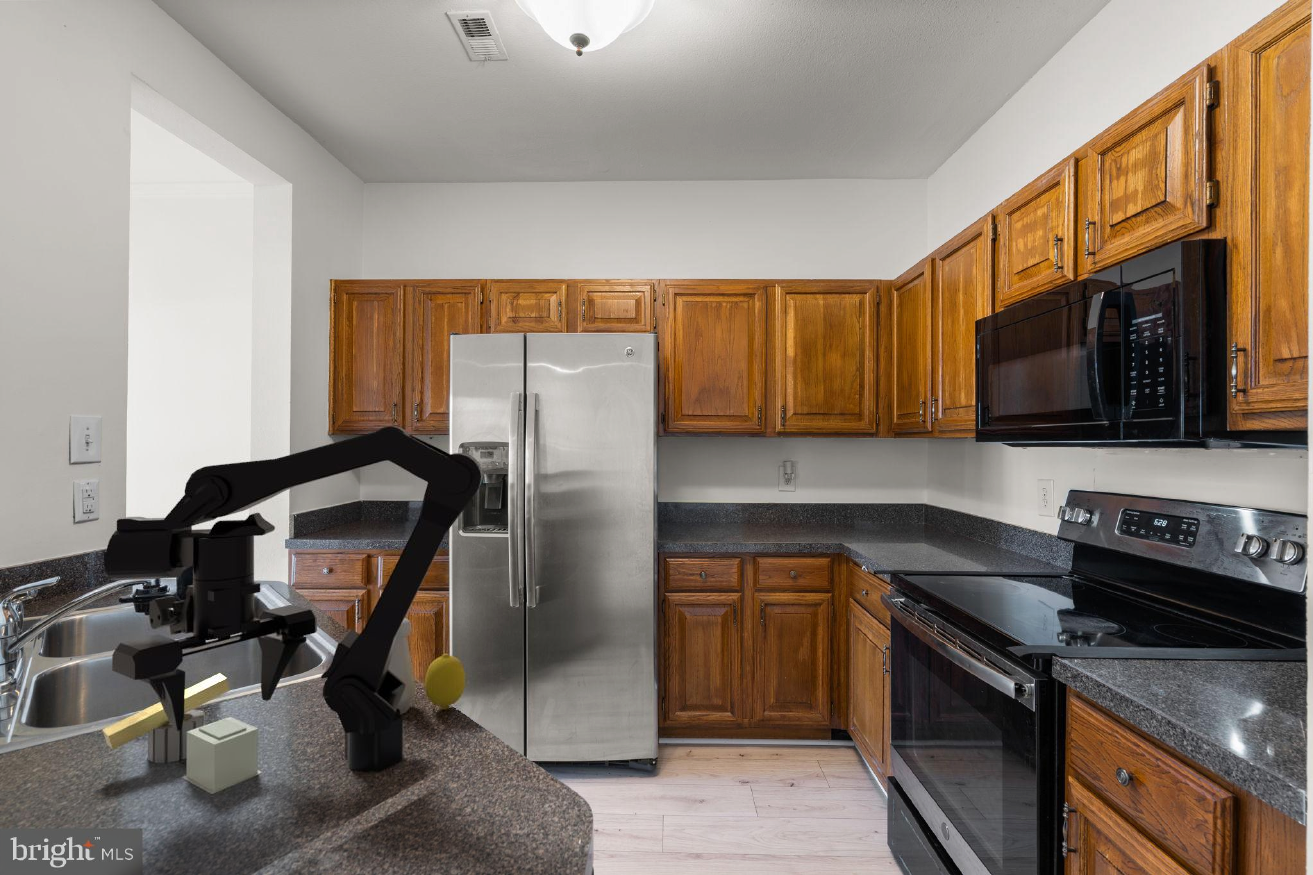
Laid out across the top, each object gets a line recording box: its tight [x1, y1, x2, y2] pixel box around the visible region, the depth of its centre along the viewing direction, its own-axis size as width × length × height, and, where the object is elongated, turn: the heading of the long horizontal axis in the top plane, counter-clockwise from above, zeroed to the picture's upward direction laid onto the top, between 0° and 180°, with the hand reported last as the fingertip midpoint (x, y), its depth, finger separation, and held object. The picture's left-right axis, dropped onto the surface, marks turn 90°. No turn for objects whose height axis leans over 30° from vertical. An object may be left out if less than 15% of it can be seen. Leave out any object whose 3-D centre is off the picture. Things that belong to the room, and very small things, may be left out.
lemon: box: [424, 653, 466, 711], centre depth 93 cm, size 6×6×8 cm
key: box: [102, 673, 230, 750], centre depth 78 cm, size 12×2×6 cm, turn 144°
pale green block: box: [185, 716, 259, 791], centre depth 73 cm, size 6×4×5 cm
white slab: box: [147, 709, 263, 795], centre depth 75 cm, size 17×10×5 cm, turn 60°
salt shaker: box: [388, 617, 417, 715], centre depth 93 cm, size 6×6×13 cm
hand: (224, 714), depth 73 cm, fingers open, 9 cm apart
